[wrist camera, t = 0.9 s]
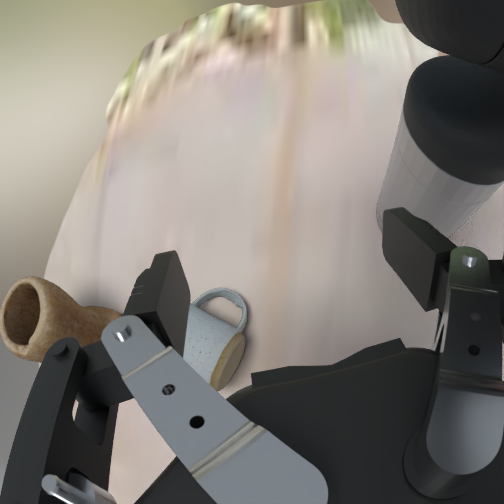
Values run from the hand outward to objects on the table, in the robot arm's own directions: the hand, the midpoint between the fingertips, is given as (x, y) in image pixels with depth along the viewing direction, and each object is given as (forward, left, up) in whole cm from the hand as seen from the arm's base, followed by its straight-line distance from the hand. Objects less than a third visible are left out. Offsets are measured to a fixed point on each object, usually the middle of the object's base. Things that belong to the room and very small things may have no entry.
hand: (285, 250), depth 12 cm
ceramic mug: (+12, -3, -23) cm, 26 cm away
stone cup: (+29, -10, -23) cm, 38 cm away
